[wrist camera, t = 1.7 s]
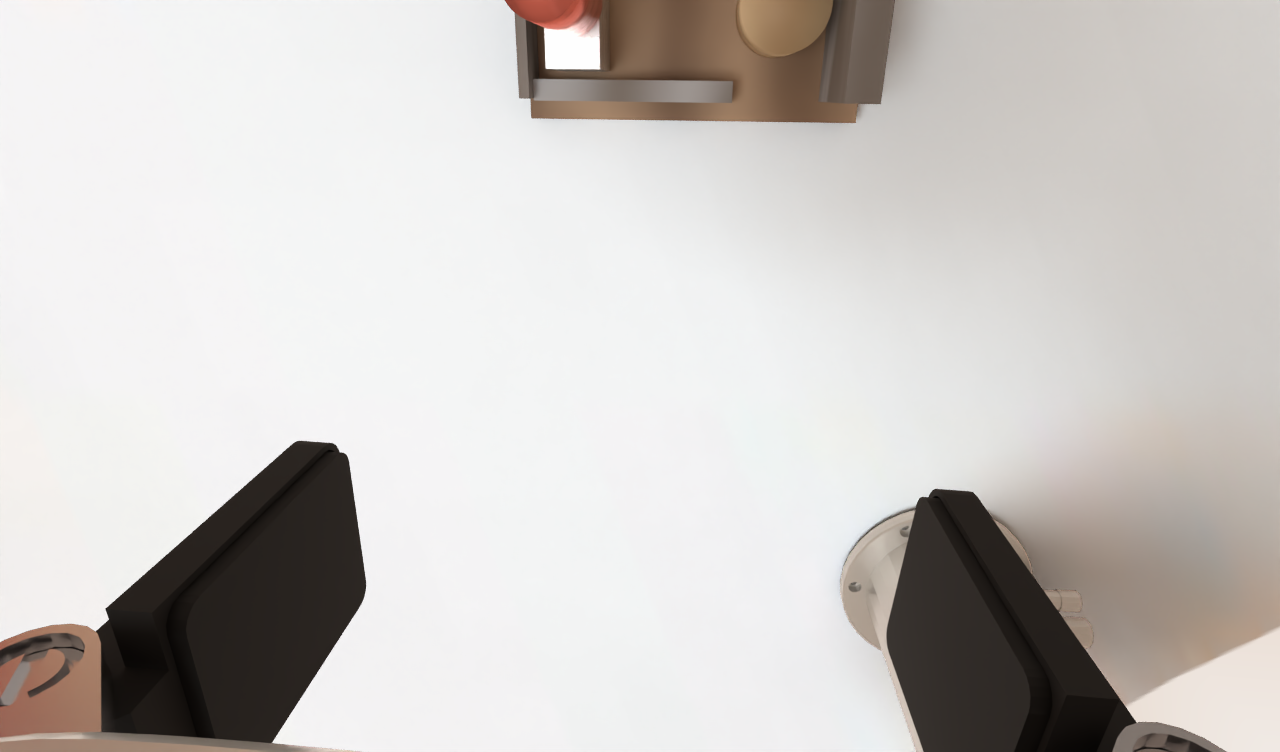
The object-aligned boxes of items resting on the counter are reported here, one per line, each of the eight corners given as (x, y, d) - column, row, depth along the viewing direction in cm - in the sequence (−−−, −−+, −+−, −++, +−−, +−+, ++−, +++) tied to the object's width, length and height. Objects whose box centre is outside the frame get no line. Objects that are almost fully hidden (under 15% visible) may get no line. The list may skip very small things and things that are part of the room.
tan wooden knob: (822, -34, 32) (838, -50, 29) (812, 58, 34) (827, 54, 30) (738, -34, 33) (744, -50, 29) (732, 58, 34) (737, 53, 31)
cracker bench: (876, -101, 32) (930, -157, 25) (849, 121, 36) (888, 129, 29) (527, -99, 34) (481, -152, 26) (537, 117, 37) (499, 123, 30)
